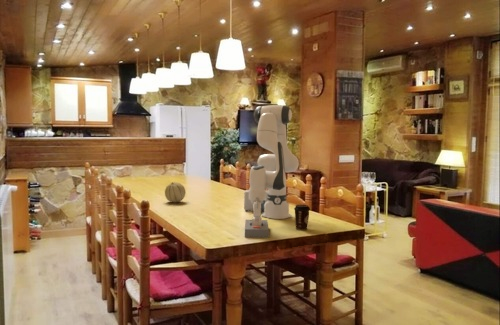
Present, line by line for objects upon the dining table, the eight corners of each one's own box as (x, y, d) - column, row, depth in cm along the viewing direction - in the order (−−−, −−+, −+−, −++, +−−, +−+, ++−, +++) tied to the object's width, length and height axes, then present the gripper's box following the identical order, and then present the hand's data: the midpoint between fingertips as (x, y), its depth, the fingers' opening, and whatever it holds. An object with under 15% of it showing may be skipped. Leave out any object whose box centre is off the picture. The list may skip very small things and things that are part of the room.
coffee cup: (308, 227, 230) (308, 204, 229) (310, 230, 222) (311, 207, 221) (292, 226, 230) (293, 204, 229) (294, 230, 222) (295, 206, 221)
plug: (251, 230, 219) (252, 217, 218) (261, 230, 219) (261, 217, 218) (251, 231, 215) (252, 218, 215) (261, 231, 215) (261, 218, 215)
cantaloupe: (188, 201, 303) (188, 181, 302) (180, 204, 289) (180, 183, 288) (170, 200, 307) (170, 180, 306) (161, 203, 293) (161, 182, 291)
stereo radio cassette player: (244, 211, 271) (244, 181, 269) (244, 208, 279) (245, 179, 278) (275, 212, 271) (276, 182, 269) (275, 209, 279) (275, 180, 277)
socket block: (245, 226, 228) (245, 218, 228) (266, 227, 228) (267, 219, 228) (244, 237, 206) (244, 228, 206) (268, 237, 206) (268, 228, 206)
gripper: (263, 199, 205) (263, 227, 206) (262, 193, 226) (262, 218, 227) (251, 199, 205) (250, 226, 206) (251, 193, 226) (250, 218, 227)
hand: (256, 222), depth 217 cm, fingers open, 8 cm apart
